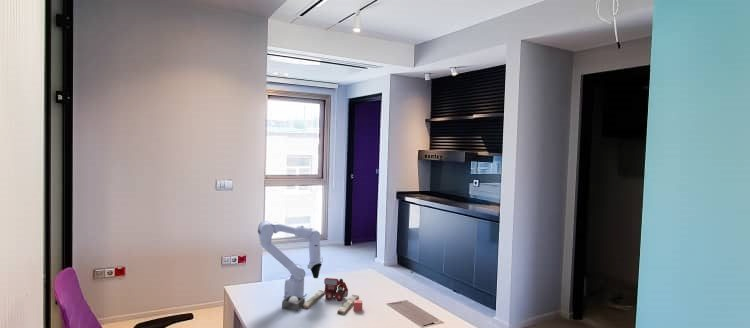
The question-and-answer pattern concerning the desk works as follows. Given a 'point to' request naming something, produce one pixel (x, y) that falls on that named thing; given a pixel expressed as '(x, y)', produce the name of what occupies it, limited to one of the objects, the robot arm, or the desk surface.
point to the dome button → (293, 299)
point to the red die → (357, 305)
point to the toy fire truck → (335, 289)
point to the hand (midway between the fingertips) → (315, 277)
